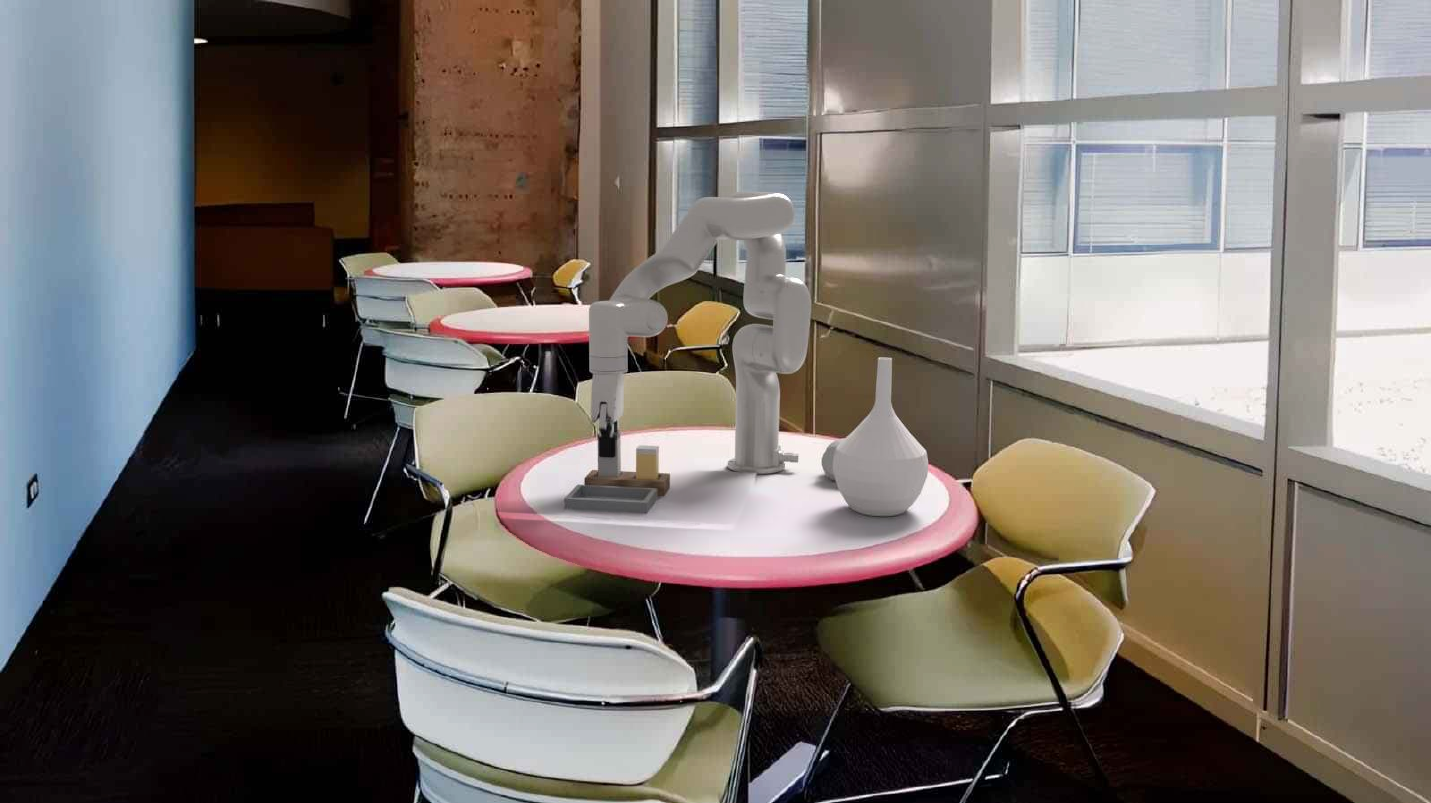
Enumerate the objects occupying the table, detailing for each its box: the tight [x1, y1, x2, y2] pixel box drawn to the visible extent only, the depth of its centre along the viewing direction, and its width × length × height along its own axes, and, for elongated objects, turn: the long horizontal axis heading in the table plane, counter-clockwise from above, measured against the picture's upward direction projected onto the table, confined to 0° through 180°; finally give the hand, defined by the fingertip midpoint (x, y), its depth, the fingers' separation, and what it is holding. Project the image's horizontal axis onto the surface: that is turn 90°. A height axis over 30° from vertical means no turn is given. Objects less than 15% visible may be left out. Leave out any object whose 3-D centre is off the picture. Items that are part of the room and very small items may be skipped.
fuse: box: [635, 444, 660, 480], centre depth 262 cm, size 4×3×9 cm
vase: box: [833, 356, 929, 517], centre depth 253 cm, size 18×18×30 cm
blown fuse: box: [597, 431, 622, 478], centre depth 263 cm, size 4×3×9 cm
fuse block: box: [583, 469, 671, 498], centre depth 263 cm, size 16×7×4 cm, turn 82°
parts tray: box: [563, 484, 659, 514], centre depth 253 cm, size 16×11×3 cm
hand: (609, 454), depth 263 cm, fingers closed on blown fuse, 3 cm apart
